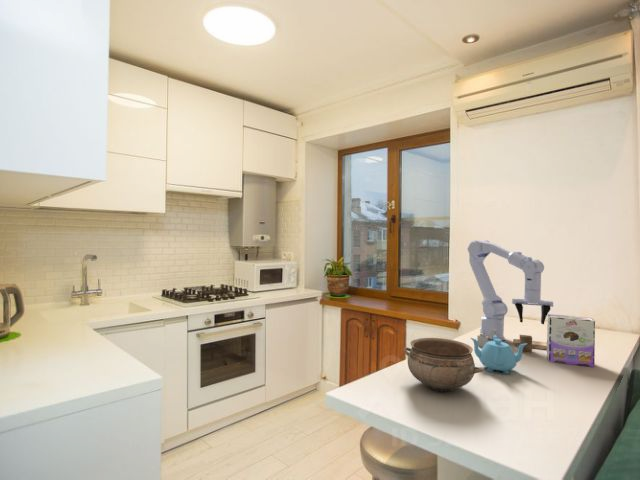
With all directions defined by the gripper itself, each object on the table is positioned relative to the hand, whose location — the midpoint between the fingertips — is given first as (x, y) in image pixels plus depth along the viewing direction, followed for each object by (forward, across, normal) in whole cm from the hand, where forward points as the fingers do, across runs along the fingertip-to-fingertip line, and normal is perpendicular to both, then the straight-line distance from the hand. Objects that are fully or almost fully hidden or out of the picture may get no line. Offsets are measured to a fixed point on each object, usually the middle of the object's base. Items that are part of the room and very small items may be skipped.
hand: (531, 322), depth 153 cm
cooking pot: (+10, -33, -58) cm, 67 cm away
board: (+10, +2, +2) cm, 10 cm away
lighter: (+10, -17, -8) cm, 21 cm away
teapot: (+10, -16, -34) cm, 39 cm away
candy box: (+10, +10, -16) cm, 21 cm away
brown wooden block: (+10, -3, -5) cm, 11 cm away
